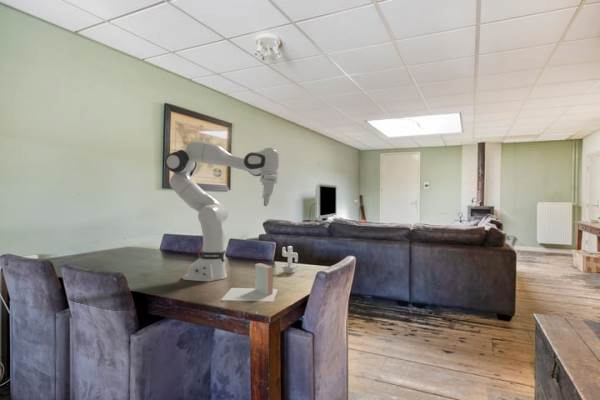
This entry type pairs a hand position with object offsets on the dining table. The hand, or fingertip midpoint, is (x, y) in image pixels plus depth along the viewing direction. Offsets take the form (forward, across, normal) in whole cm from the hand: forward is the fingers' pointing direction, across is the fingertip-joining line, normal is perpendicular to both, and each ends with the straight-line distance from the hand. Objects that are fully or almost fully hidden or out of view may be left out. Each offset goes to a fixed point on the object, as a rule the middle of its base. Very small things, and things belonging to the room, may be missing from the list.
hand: (265, 205), depth 170 cm
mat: (+43, +18, -3) cm, 47 cm away
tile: (+41, +15, +2) cm, 44 cm away
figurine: (+35, -23, +19) cm, 46 cm away
